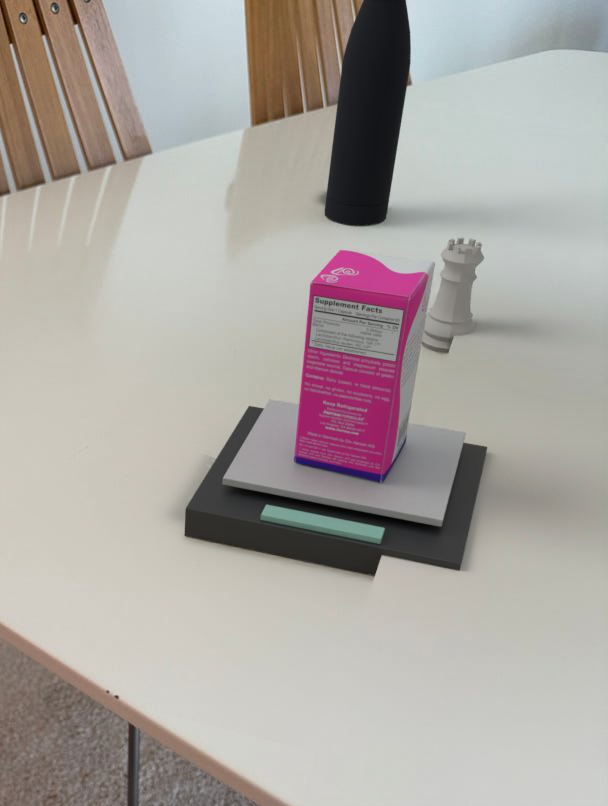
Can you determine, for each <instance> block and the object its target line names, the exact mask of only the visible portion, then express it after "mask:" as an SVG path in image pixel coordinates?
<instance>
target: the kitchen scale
mask: <svg viewBox="0 0 608 806" xmlns="http://www.w3.org/2000/svg"><path fill="white" fill-rule="evenodd" d="M298 411H299V403H296V402H295V403H294V402H289V401H283V400H277V399H268V401H267V402H266V404H265V406H264V407H258V406H253V405H248V407H247V408H246V409H245V411H244V413H243V415H242V416H241V418H240V420H239V421H238V423H237V425H235V428H234V430H233V431H232V432H231V434H230V436H229V437H228V439H227V441H226V442H225V444H224V445H223V446H222V448H221V451H219V454H218V455H217V457H216V458H215V460H214V462H213V463H212V465H211V467H210V468H209V470H208V472H207V473H206V474H205V476H204V478H203V479H202V481H201V482H200V484H199V485H198V488H197V489H196V491H195V492H194V494H193V495H192V497H191V499H190V500H189V502H188V503H187V505H186V507H185V510H184V511H185V512H184V513H185V514H184V534H183V535H184V537H189V538H193V539H197V540H202V541H207V542H212V543H216V544H221V545H226V546H232V547H236V548H241V549H244V550H245V549H246V550H250V551H255V552H259V553H260V552H261V553H265V554H269V555H274V556H279V557H284V558H287V559H288V558H289V559H293V560H298V561H302V562H307V563H311V564H317V565H320V566H325V567H330V568H335V569H341V570H345V571H350V572H354V573H360V574H364V575H369V576H376V574H377V571H378V568H379V565H380V562H381V559H382V556H385V557H390V558H396V559H399V560H400V559H401V560H404V561H405V560H406V561H410V562H415V563H420V564H425V565H430V566H434V567H440V568H443V569H449V570H455V571H460V570H461V566H462V562H463V557H464V553H465V550H466V549H465V548H466V544H467V540H468V535H469V530H470V526H471V522H472V517H473V513H474V509H475V504H476V499H477V495H478V492H479V491H478V490H479V486H480V482H481V478H482V473H483V468H484V464H485V460H486V455H487V451H488V446H485V445H480V444H474V443H469V442H465V440H466V439H465V438H466V436H467V432H466V431H461V430H454V429H449V428H442V427H437V426H431V425H425V424H420V423H419V424H418V423H414V422H409V423H408V429H407V437H406V442H405V444H404V446H403V448H402V450H401V452H400V454H399V455H398V457H397V459H396V461H395V462H394V464H393V466H392V468H391V470H390V471H389V473H388V475H387V476H386V478H385V480H384V481H383V482H382V483H378V482H374V481H370V480H367V479H363V478H359V477H354V476H350V475H346V474H342V473H338V472H333V471H329V470H325V469H320V468H316V467H312V466H307V465H303V464H299V463H295V462H294V454H295V444H296V432H297V421H298Z"/></svg>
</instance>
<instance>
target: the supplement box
mask: <svg viewBox="0 0 608 806" xmlns="http://www.w3.org/2000/svg"><path fill="white" fill-rule="evenodd" d="M435 266H436V262H435V261H434V260H428V259H420V258H412V257H403V256H393V255H386V254H379V253H372V252H367V251H358V250H353V249H344V248H341V249H339V250H338V251H337V253H335V255H334V256H333V257H332V258H331V259H330V260H329V261H328V263H326V265H325V266H324V267H323V268H322V269H321V270H320V272H319V273H317V275H316V276H315V277H314V278H313V279H312V281H310V283H309V295H308V304H307V305H308V307H307V316H306V327H305V337H304V347H303V349H304V350H303V358H302V371H301V381H300V392H299V402H298V404H299V411H298V421H297V432H296V444H295V454H294V462H295V463H299V464H303V465H307V466H312V467H316V468H320V469H325V470H329V471H333V472H338V473H342V474H346V475H350V476H354V477H359V478H363V479H367V480H370V481H374V482H378V483H382V482H383V481H384V480H385V478H386V476H387V475H388V473H389V471H390V470H391V468H392V466H393V464H394V462H395V461H396V459H397V457H398V455H399V454H400V452H401V450H402V448H403V446H404V444H405V442H406V437H407V429H408V423H410V416H411V410H412V405H413V397H414V393H415V392H414V391H415V385H416V380H417V373H418V368H419V361H420V355H421V350H422V346H423V345H422V339H423V333H424V327H425V321H426V315H427V314H428V310H429V309H428V307H429V303H430V296H431V290H432V284H433V279H434V271H435V268H436V267H435Z"/></svg>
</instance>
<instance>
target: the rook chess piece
mask: <svg viewBox="0 0 608 806" xmlns="http://www.w3.org/2000/svg"><path fill="white" fill-rule="evenodd" d="M464 240H465V237H457V238H456V239H454V238H451V239H448V242H447V246H446V247H445V248H444V249H443V250H442V251H441V252H440V257H441V259H442V261H443V263H444V267H443V269H442V270H441V271H440V272H439V276H440V285H439V289H438V291H437V295H436V297H435V301H434V303H433V304H432V306H431V308H429V309H428V310H427V315H426V321H425V327H424V333H423V339H422V345H421V346H423V347H425V348H427V349H428V350H430V351H434V352H438V353H443V354H444V353H445V354H450V353H449V352H450V349H451V346H452V344H453V340H454V338H455V336H457V337H458V336H460V337H461V336H464V335H470V334H471V333H473V332H474V331H475V329H476V323H475V321H474V320H473V316H474V315H473V313H472V308H471V304H472V303H471V301H472V291H473V290H472V289H473V284H474V282H475V281H476V280H477V279H478V276H477V273H476V268H477V267H478V266H479V265H480V264H481V263H482V262H483V261H484V260H485V256H484V254H483V252H482V246H483V244H482V243H481V242H480V241H476V240H477V239H474V238H469V239H468V243H467V244H466V243H464ZM455 242H456V243H455Z"/></svg>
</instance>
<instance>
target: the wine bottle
mask: <svg viewBox="0 0 608 806" xmlns="http://www.w3.org/2000/svg"><path fill="white" fill-rule="evenodd" d="M410 27H411V26H410V20H409V12H408V5H407V0H362V3H361V5H360V7H359V9H358V12H357V14H356V17H355V20H354V22H353V24H352V27H351V29H350V33H349V35H348V38H347V42H346V46H345V49H344V53H343V57H342V63H341V64H342V65H341V71H340V80H339V88H338V96H337V104H336V113H335V121H334V130H333V138H332V145H331V155H330V156H331V157H330V163H329V170H328V180H327V188H326V196H325V204H324V216H325V217H326V218H327V219H328V220H330V221H332V222H334V223H338V224H342V225H347V226H360V227H363V226H372V225H379V224H380V223H382V222H385V220H386V219H387V216H388V210H389V204H390V203H389V202H390V197H391V196H390V195H391V192H392V191H391V190H392V184H393V178H394V172H395V166H396V165H395V164H396V158H397V151H398V146H399V139H400V133H401V127H402V120H403V114H404V107H405V102H406V94H407V90H408V89H407V88H408V83H409V82H408V81H409V76H410V71H411V60H412V59H411V57H412V55H411V53H412V51H411V50H412V49H411V48H412V45H411V42H412V41H411V28H410Z"/></svg>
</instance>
